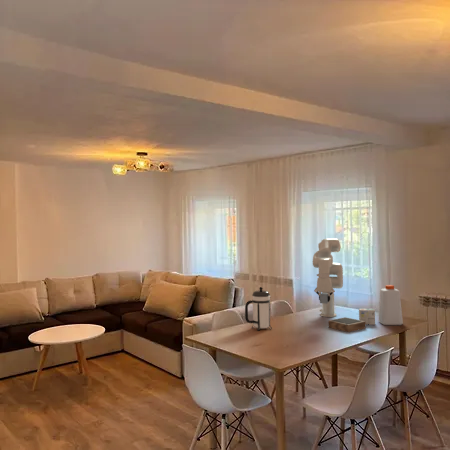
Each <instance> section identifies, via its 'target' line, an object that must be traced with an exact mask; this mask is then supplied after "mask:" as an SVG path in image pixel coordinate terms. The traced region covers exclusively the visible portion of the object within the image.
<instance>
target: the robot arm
mask: <svg viewBox="0 0 450 450" xmlns="http://www.w3.org/2000/svg"><path fill="white" fill-rule="evenodd" d="M317 247H318V250H317V251H316V252H314V254H313V256H312V266H313V267H314V268H315V269H316V268H318V273H317V274H316V277H317V280H316V287H315V289H314V290H313V292H315V293H316V294H317V296H318V301H320V294H321V293H328V303H327V304H325V303H321V304H322V305H321V307H322V308H320V309H319V312H320V316H321V317H324V318H326V317H327V318H333V317H334V318H335V317H337V313H335V292H336V291H335V289H342V288H343V286H344V275H343V274H344V272H343V271H344V269H343V265H342V264H341V263H340V262H334V258H333V257H334V256H333V255H332V253H339V252H340V251H341V248H342V247H341V242H340V240H339V239H338V238H324V239H321V241H320V242H319V243H318V246H317Z"/></svg>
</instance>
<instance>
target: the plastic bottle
mask: <svg viewBox="0 0 450 450" xmlns="http://www.w3.org/2000/svg"><path fill="white" fill-rule="evenodd" d="M378 306H379V307H378V323H380V324H381V325H384V326H402V325H403V323H404V322H403V321H404V320H403V312H402V311H403V309H402V301H401V291H400V290H399V289H397V288H395V285H394V284H386V285H385V286H384V288H381V289H379V305H378Z"/></svg>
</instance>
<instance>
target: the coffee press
mask: <svg viewBox="0 0 450 450" xmlns="http://www.w3.org/2000/svg"><path fill="white" fill-rule="evenodd" d="M251 296H252V300H248V301H247V302H246V303H245V305H244V320H245V321H246V322H247V323H249V324H252V326H251V329H254V328H256V329H257V332H260V331H261V329H269V330H270V331H271V330H272V329H273V328H272V326H271V306H270V305H271V299H270V298H272V296H271V294H270V292H269V291H268V290H265V289H264V288H263V287H259V289H258V290H254V291H253V292H252V294H251ZM250 304H252V320H249V305H250Z"/></svg>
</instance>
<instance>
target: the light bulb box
mask: <svg viewBox="0 0 450 450" xmlns="http://www.w3.org/2000/svg"><path fill="white" fill-rule="evenodd" d="M358 320H361V321H365V323H366V325H367V326H368V324H369V325H374V326H375V325H376V310H375V309H374V308H358Z"/></svg>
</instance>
